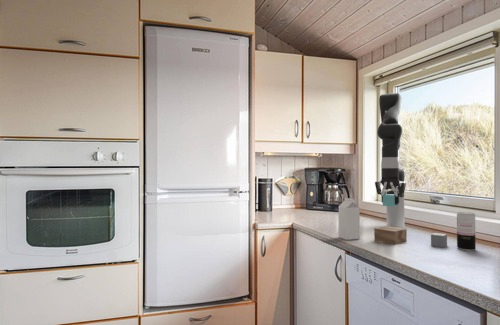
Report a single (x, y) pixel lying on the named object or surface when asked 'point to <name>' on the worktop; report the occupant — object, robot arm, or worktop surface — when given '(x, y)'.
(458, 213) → the white and black canister
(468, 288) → the worktop surface
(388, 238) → the walnut base block
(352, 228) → the milk carton
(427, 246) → the worktop surface
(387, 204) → the teal cube
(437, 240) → the gray cube
